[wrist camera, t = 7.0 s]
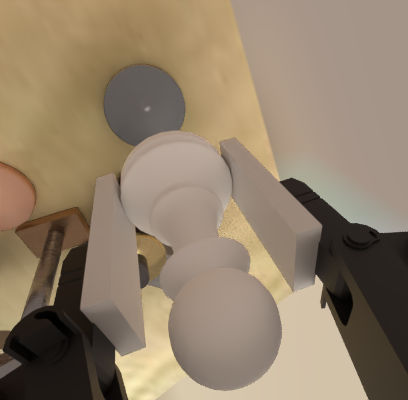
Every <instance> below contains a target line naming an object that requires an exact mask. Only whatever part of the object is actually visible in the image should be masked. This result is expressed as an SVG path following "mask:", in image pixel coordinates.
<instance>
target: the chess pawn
mask: <svg viewBox="0 0 408 400" xmlns="http://www.w3.org/2000/svg"><path fill="white" fill-rule="evenodd" d="M120 190H121V195H120V199H121V203H122V206H123V209H124V212H125V214H126V215H127V217H128V219H129V220H130V222H131V223H132V224H134V225H135V226H136V227H137V228H138V229H139V230H141V231H143V232H145V233H147V234H149V235H151V236H155V238H157V239H158V240H159V241H160V242H161V243H163V244H165V245H168V246H171V247H172V249H173V252H174V254H173V255H172V256H171V257H170V258H169V259H168V260H167V261H166V263H165V264H164V266H163V268H162V270H161V274H160V279H159V280H160V285H161V289H162V290H163V292H164V293H165V295H166V296H167V297H168V298H170V299H171V300H173V301H174V302H173V304H172V308H171V312H170V316H169V323H168V330H169V337H170V342H171V347H172V350H173V353H174V356H175V358H176V360H177V362H178V363H179V365H180V366H181V368H182V369H183V370H184V371H185V372H186V373H187V374H188V375H189V376H190V378H192V379H193V380H194V381H196V382H197V383H199V384H200V385H203V386H205V387H208V388H211V389H214V390H223V391H228V390H235V389H239V388H243V387H245V386H248V385H250V384H251V383H253V382H255V381H256V380H258V379H259V378H261V377H262V375H264V374H265V373H266V372H267V371H268V369H269V368H270V366H271V365H272V364H273V362H274V360H275V358H276V356H277V354H278V350H279V346H280V343H281V337H282V327H281V321H280V316H279V312H278V308H277V305H276V303H275V301H274V299H273V297H272V295H271V294H270V292H269V291H268V290H267V289H266V288H265V286H264V285H263V284H262V283H261V282H260V281H259V280H258V279H257V278H255V277H254V276H252V275H250V274H248V272H249V268H250V256H249V253H248V250H247V249H246V248H245V247H244V245H243V244H241V243H239V242H238V241H236V240H234V239H230V238H226V237H219V235H218V231H217V230H218V228H219V227H220V225H221V222H222V219H223V212H224V210H225V209H226V207H227V206H228V203H229V200H230V197H231V194H232V177H231V173H230V169H229V167H228V165H227V164H226V162H225V161H224V159H223V158H222V156H220V154H219V153H218V151H217V150H216V149H215V147H214V146H213V145H212V144H210V143H209V142H208V141H207V140H206V139H204V138H203V137H200V136H198V135H196V134H193V133H191V132H184V131H177V130H176V131H167V132H161V133H158V134H156V135H153V136H151V137H148V138H146V139H145V140H144V141H142V142H141V143H140V144H138V145H137V146H136V147H135V148H134V149H133V150H132V151H131V153H130V154H129V155H128V157H127V158H126V160H125V163H124V165H123V168H122V170H121V182H120Z"/></svg>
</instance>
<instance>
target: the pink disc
mask: <svg viewBox="0 0 408 400" xmlns="http://www.w3.org/2000/svg"><path fill="white" fill-rule="evenodd" d="M35 203H36V193H35V190H34V187H33V186H32V184H31V182H30V181H29V180H28V179H27V178H26V177H25V176H24V175H23V174H22V173H20V172H19V171H17V170H16V169H14V168H12V167H10V166H8V165H5V164H3V163H0V231H3V230H9V229H12V228H15V227H17V226H19V225H21V224H23V223H24V222H25V221H26V220H27V219H28V218H29V217H30V215H31V213H32V211H33V209H34V206H35Z"/></svg>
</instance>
